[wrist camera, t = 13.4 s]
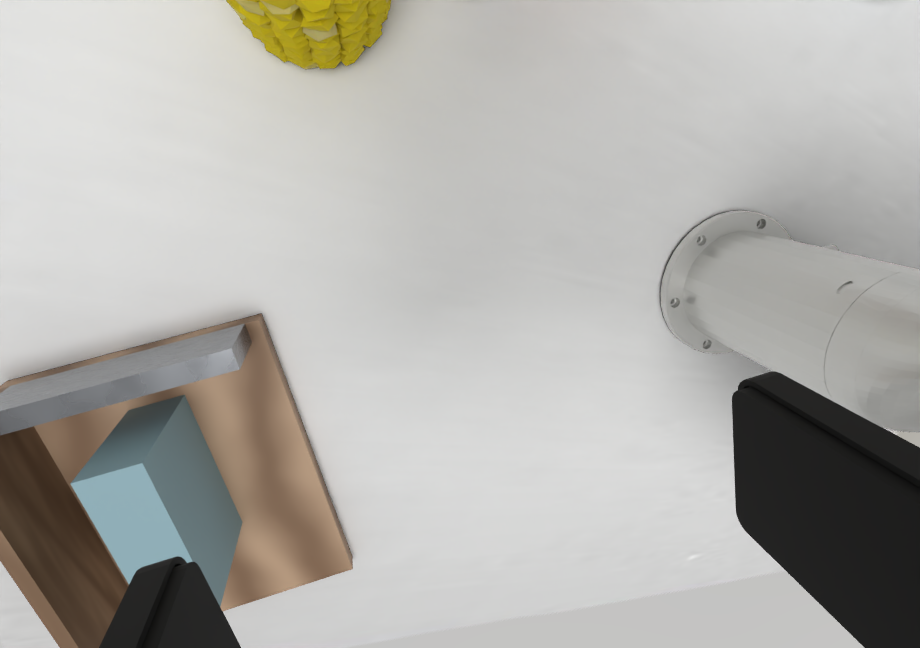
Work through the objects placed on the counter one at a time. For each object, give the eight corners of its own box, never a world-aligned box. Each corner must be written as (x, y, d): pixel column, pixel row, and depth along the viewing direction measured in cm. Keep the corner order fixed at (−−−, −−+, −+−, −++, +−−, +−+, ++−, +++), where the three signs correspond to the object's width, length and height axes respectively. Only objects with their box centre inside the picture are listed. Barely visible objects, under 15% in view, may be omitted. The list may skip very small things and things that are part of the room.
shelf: (261, 313, 40) (241, 356, 32) (352, 556, 49) (354, 636, 41) (7, 380, 38) (-80, 443, 30) (148, 622, 47) (109, 720, 39)
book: (184, 394, 40) (142, 463, 31) (242, 522, 44) (218, 612, 36) (128, 410, 39) (70, 483, 31) (192, 537, 43) (156, 632, 35)
